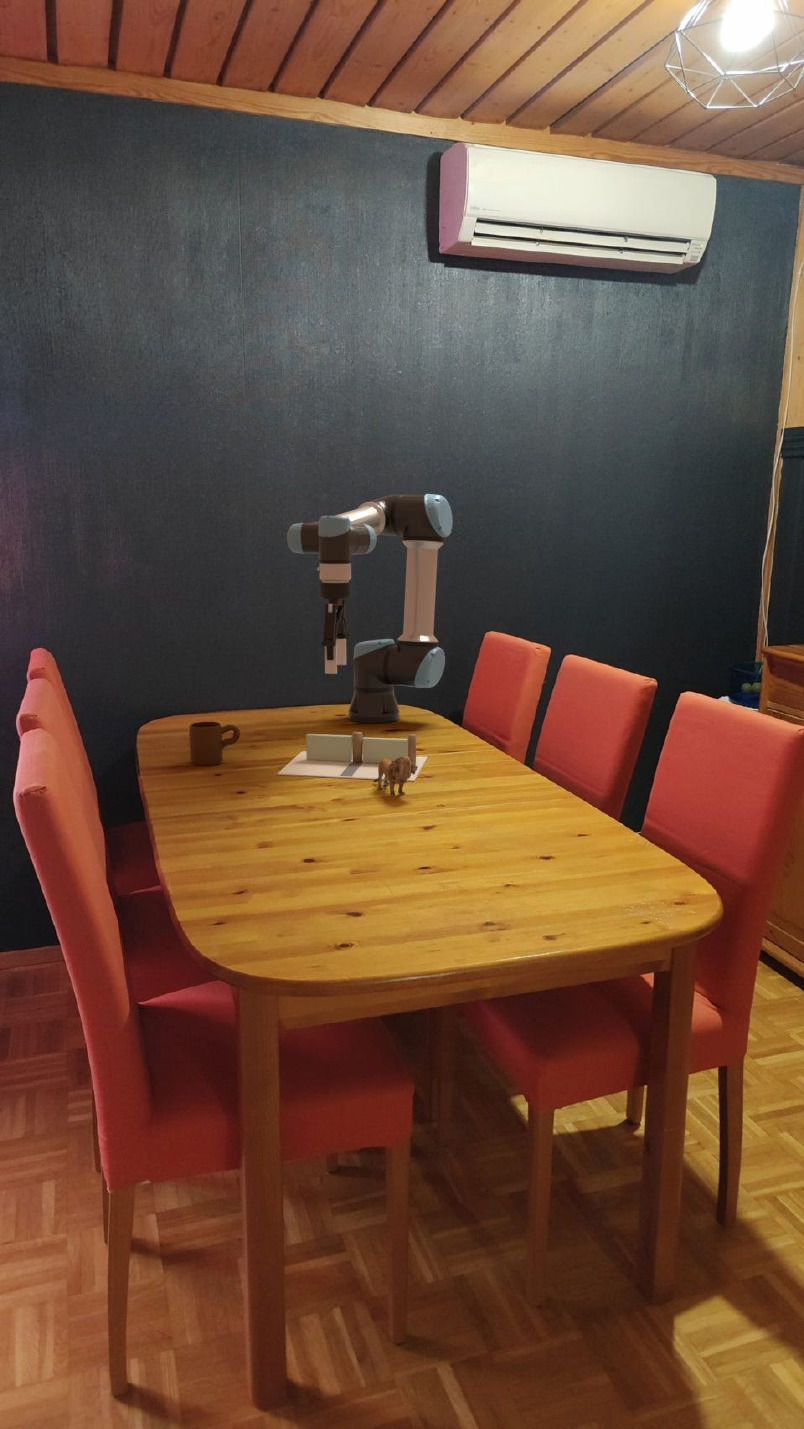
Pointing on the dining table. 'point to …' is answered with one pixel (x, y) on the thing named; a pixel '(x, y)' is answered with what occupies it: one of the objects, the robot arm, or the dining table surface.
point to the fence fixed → (382, 748)
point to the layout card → (338, 768)
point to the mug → (209, 742)
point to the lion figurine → (395, 773)
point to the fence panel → (329, 747)
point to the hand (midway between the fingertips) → (336, 669)
